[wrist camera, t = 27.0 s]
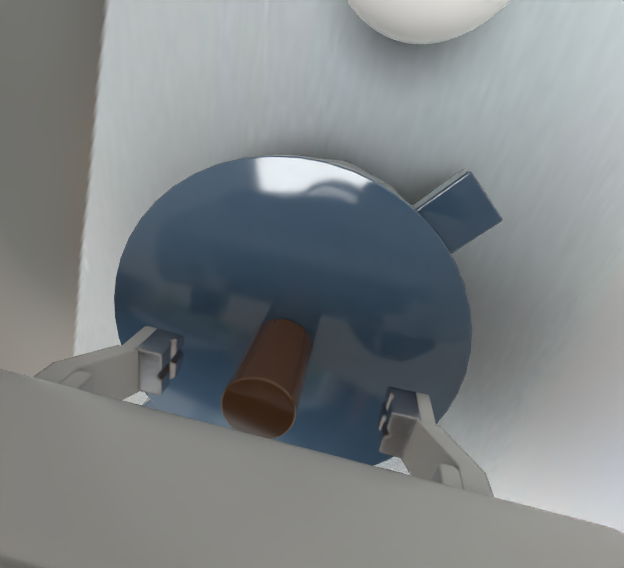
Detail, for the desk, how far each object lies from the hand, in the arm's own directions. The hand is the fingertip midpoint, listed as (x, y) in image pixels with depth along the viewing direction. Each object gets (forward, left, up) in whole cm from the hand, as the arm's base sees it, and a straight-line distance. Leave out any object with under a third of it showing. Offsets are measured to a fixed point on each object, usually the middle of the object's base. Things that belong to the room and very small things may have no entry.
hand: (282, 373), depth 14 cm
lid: (0, 0, -3) cm, 3 cm away
